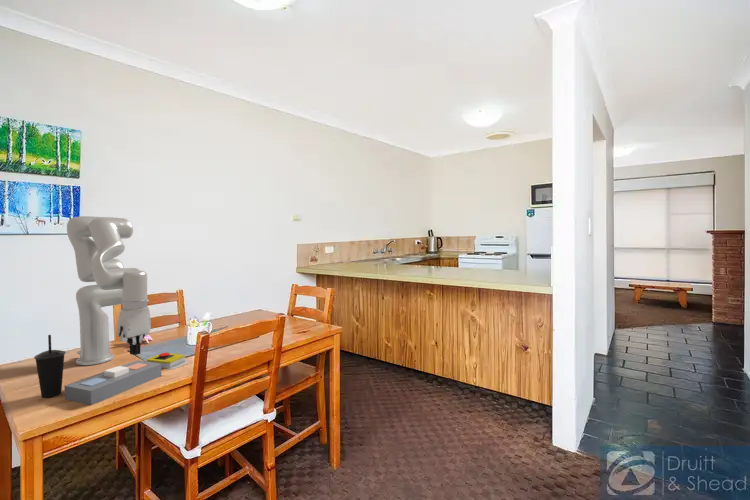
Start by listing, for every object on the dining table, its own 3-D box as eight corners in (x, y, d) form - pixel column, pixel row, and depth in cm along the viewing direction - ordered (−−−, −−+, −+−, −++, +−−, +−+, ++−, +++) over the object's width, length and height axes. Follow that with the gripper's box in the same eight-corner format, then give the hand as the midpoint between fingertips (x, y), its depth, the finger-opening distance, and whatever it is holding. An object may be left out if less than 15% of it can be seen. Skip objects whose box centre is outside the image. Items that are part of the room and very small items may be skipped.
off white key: (104, 379, 126) (103, 370, 125) (118, 374, 130) (118, 365, 130) (114, 381, 124) (114, 372, 124) (128, 375, 129) (128, 367, 129)
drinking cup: (48, 390, 124) (46, 332, 123) (72, 390, 124) (70, 331, 124) (29, 400, 116) (26, 338, 115) (54, 400, 117) (52, 338, 116)
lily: (137, 350, 170) (148, 331, 173) (116, 339, 172) (128, 320, 174) (152, 350, 182) (163, 332, 184) (132, 340, 183) (143, 322, 186)
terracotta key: (125, 375, 133) (125, 367, 133) (138, 370, 137) (138, 363, 137) (135, 377, 131) (135, 369, 131) (148, 372, 136) (148, 364, 136)
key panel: (64, 399, 117) (64, 385, 117) (137, 371, 141) (137, 360, 141) (91, 405, 113) (90, 390, 113) (161, 375, 137) (161, 363, 137)
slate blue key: (80, 392, 118) (80, 383, 118) (96, 386, 123) (96, 377, 123) (91, 394, 117) (91, 385, 117) (107, 388, 122) (107, 379, 122)
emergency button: (160, 349, 156) (190, 352, 153) (160, 359, 156) (190, 362, 153) (141, 356, 147) (173, 359, 144) (142, 367, 147) (173, 370, 144)
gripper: (145, 299, 142) (145, 346, 143) (106, 307, 127) (107, 359, 129) (160, 302, 139) (160, 349, 140) (122, 310, 125) (122, 362, 126)
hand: (135, 353), depth 134 cm, fingers closed
